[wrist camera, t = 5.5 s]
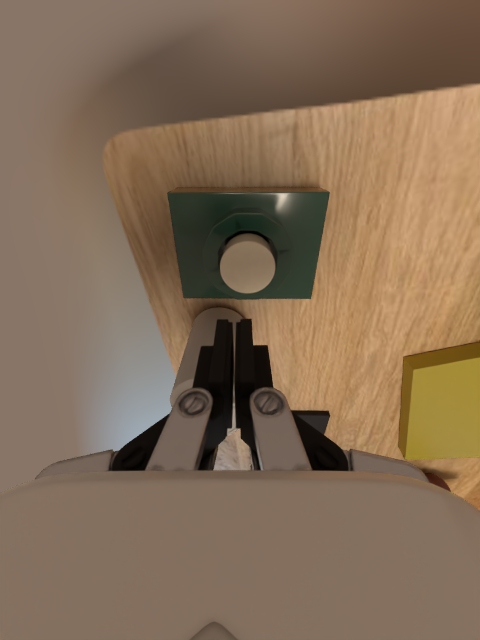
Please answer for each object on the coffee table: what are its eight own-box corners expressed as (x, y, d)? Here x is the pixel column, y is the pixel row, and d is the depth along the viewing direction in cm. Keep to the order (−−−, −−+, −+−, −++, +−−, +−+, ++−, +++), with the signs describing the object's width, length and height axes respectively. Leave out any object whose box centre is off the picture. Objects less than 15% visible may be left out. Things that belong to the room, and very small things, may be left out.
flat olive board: (403, 357, 31) (397, 453, 44) (413, 369, 29) (404, 466, 42) (517, 334, 29) (476, 443, 42) (535, 346, 27) (486, 457, 40)
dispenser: (189, 284, 26) (178, 309, 22) (176, 187, 21) (159, 196, 17) (305, 284, 26) (316, 310, 22) (320, 186, 21) (338, 196, 17)
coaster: (253, 448, 44) (253, 453, 43) (255, 410, 38) (255, 414, 37) (316, 449, 44) (317, 454, 43) (328, 411, 38) (330, 415, 37)
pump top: (223, 281, 21) (221, 293, 19) (220, 232, 18) (218, 241, 17) (271, 282, 21) (273, 293, 19) (274, 232, 18) (277, 241, 17)
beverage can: (249, 346, 31) (251, 441, 21) (198, 348, 31) (175, 442, 21) (246, 302, 27) (246, 390, 17) (188, 305, 27) (155, 393, 18)
